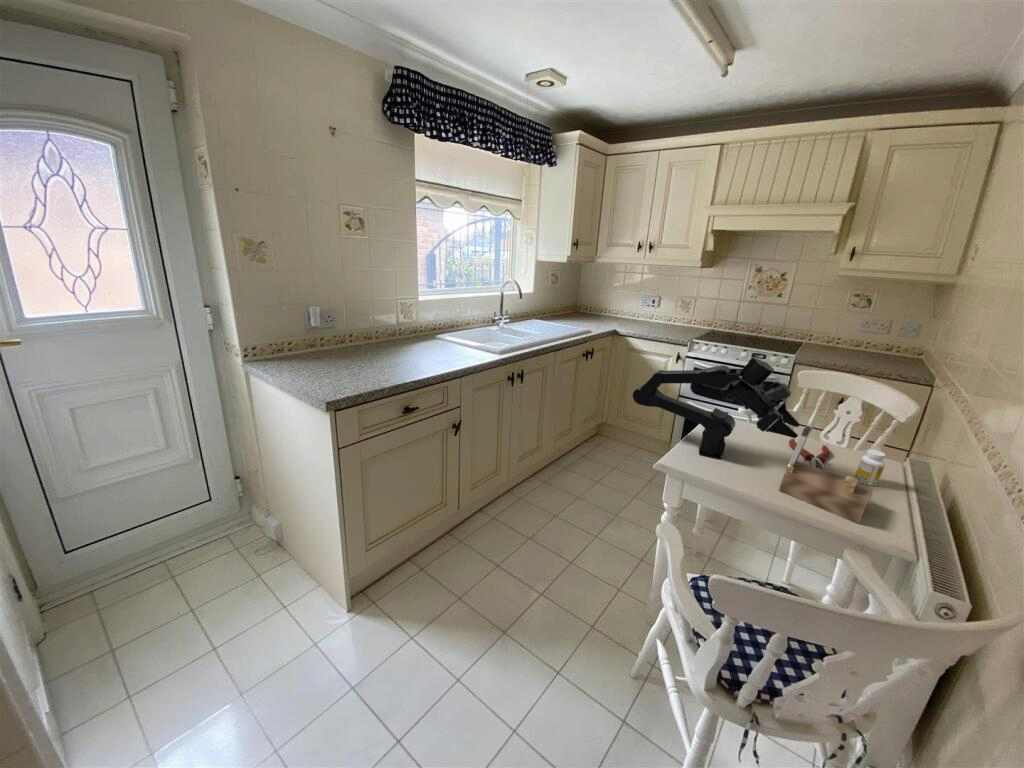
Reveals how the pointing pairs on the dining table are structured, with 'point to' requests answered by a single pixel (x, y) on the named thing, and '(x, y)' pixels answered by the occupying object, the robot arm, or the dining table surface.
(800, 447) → the latch lever
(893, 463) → the dining table surface
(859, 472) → the supplement bottle
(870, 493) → the storage box
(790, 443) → the pliers
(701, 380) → the robot arm
